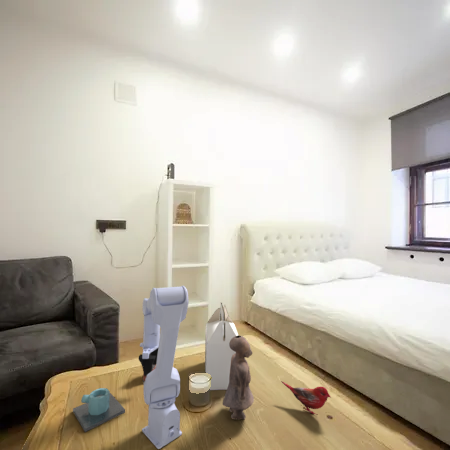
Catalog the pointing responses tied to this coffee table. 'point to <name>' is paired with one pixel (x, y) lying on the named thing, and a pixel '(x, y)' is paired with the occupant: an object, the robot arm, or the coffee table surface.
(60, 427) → the coffee table surface
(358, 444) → the coffee table surface
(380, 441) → the coffee table surface
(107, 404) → the elbow collar
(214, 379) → the gable box
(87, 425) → the base
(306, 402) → the decorative bird figurine
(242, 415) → the clay figurine
